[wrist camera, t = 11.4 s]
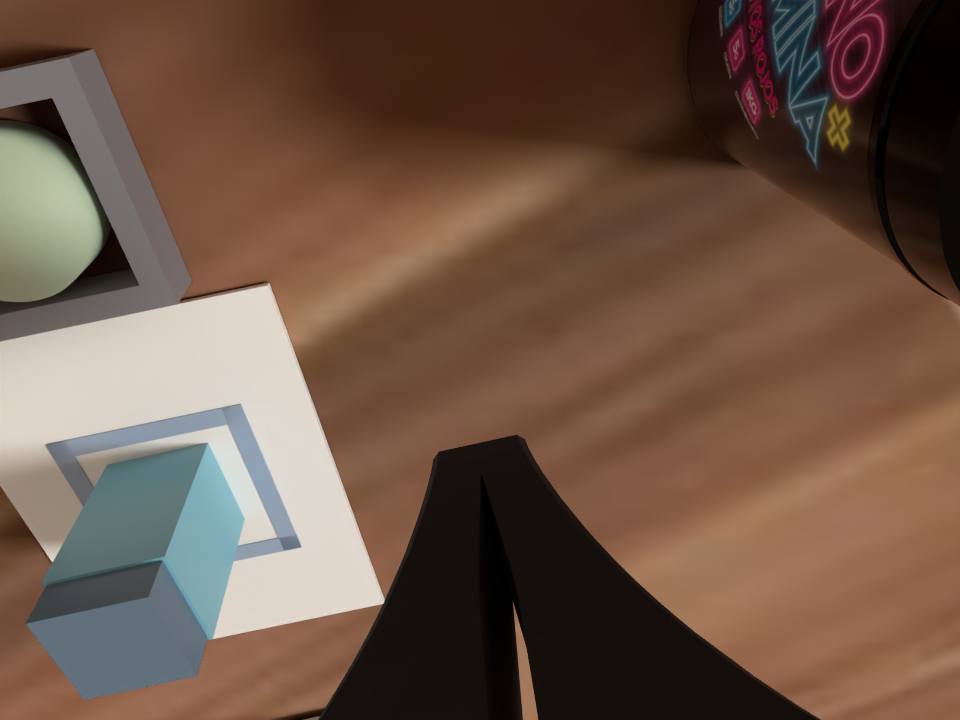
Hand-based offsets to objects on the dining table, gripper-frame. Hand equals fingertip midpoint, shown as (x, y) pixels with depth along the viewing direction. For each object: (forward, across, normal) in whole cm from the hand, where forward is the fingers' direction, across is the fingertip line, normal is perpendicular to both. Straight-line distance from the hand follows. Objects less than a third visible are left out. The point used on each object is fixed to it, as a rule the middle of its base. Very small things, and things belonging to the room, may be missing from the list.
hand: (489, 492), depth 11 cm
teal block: (+10, +10, +6) cm, 16 cm away
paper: (+10, +10, +6) cm, 16 cm away
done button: (+10, +10, -4) cm, 15 cm away
